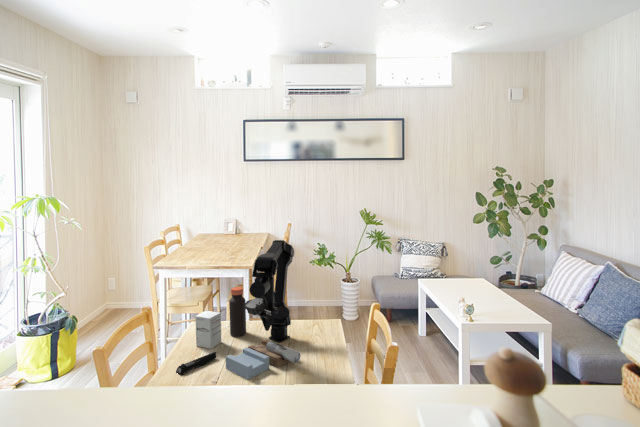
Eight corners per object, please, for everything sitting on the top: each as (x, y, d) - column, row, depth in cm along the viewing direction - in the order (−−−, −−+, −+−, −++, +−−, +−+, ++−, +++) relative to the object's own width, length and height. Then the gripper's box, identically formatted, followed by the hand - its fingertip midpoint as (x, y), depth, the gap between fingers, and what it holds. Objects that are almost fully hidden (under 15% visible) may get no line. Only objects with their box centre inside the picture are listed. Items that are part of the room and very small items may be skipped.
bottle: (227, 336, 171) (226, 290, 169) (234, 330, 177) (233, 285, 175) (242, 337, 169) (241, 291, 167) (248, 331, 176) (247, 286, 174)
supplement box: (195, 346, 161) (194, 315, 160) (207, 339, 168) (206, 309, 167) (210, 349, 159) (209, 318, 157) (222, 342, 165) (221, 312, 164)
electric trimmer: (219, 361, 150) (218, 352, 150) (181, 376, 138) (180, 367, 138) (213, 358, 152) (212, 350, 152) (175, 373, 141) (175, 364, 140)
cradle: (226, 368, 143) (225, 356, 143) (247, 358, 150) (246, 347, 150) (248, 379, 135) (247, 366, 135) (269, 368, 143) (269, 356, 142)
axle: (265, 353, 150) (265, 343, 150) (273, 349, 153) (273, 339, 153) (293, 364, 141) (292, 354, 141) (300, 360, 144) (300, 349, 144)
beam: (248, 355, 153) (248, 346, 153) (265, 347, 160) (265, 338, 160) (277, 368, 143) (277, 358, 143) (295, 359, 150) (295, 350, 150)
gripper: (233, 290, 150) (234, 330, 152) (267, 300, 138) (268, 344, 140) (255, 283, 158) (256, 322, 160) (290, 292, 147) (290, 334, 148)
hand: (267, 330), depth 152 cm, fingers closed
